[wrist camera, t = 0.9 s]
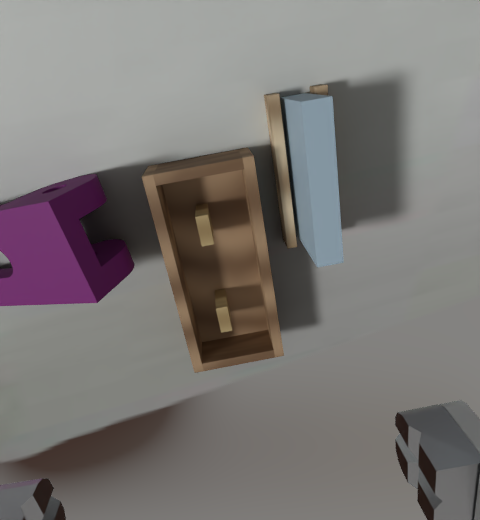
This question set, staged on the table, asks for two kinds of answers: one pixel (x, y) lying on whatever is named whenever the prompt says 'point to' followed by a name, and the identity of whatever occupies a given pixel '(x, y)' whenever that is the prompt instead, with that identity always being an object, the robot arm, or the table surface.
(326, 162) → the door
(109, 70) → the table surface
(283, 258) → the table surface
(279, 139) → the door stand
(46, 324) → the table surface
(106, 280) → the mounting bracket
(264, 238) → the box
